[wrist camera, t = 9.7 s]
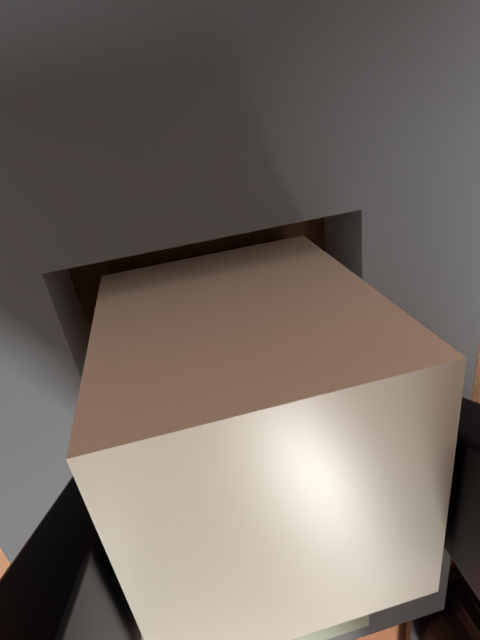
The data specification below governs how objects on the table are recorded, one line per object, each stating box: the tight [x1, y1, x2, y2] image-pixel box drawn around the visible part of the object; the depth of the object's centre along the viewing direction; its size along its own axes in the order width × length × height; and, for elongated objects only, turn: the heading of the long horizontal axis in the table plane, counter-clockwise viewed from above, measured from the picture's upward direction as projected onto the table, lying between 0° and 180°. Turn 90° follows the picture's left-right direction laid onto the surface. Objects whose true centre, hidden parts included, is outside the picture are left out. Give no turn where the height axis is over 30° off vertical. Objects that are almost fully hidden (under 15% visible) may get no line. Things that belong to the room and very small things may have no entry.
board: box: [0, 0, 480, 640], centre depth 10 cm, size 24×12×2 cm, turn 8°
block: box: [66, 235, 467, 640], centre depth 8 cm, size 4×4×6 cm
